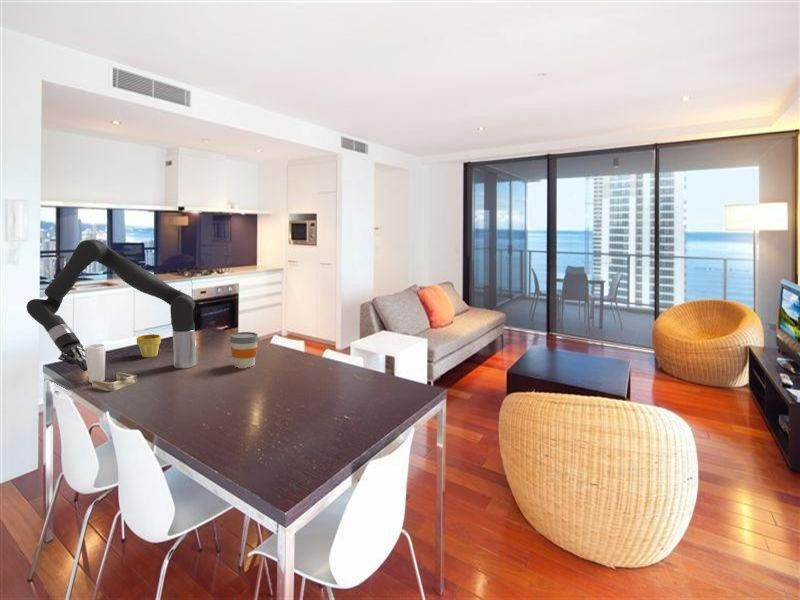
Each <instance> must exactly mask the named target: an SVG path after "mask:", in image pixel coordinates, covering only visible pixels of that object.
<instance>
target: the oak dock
mask: <svg viewBox="0 0 800 600" xmlns="http://www.w3.org/2000/svg"><path fill="white" fill-rule="evenodd" d="M115 377H116V378H115V379H116V381H112V382H111V381H110V382H109V381H105V380H104V381H100V380H92V383H91V386H92V389H97V390H101V391H105V392H106V391H107V392H115V391H117V390H119V389H120V390H121V389H123V388H126V387H128V386H130V385H134V384H137V383H138V375H137V374H130V373H124V372H120V371H118V372H115Z"/></svg>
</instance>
